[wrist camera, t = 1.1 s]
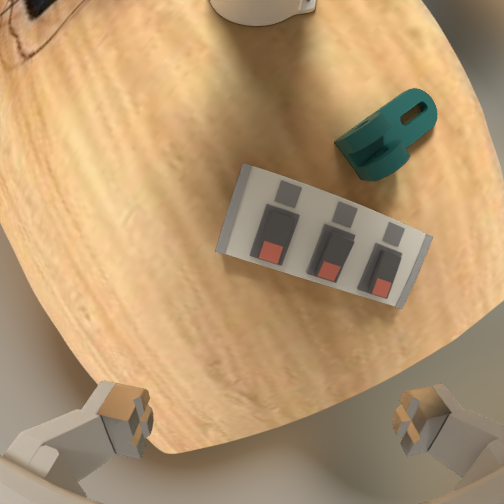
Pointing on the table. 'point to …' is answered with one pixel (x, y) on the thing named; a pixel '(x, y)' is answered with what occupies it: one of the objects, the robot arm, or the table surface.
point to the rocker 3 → (384, 274)
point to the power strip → (320, 233)
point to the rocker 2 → (334, 257)
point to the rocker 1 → (275, 238)
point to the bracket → (387, 135)
